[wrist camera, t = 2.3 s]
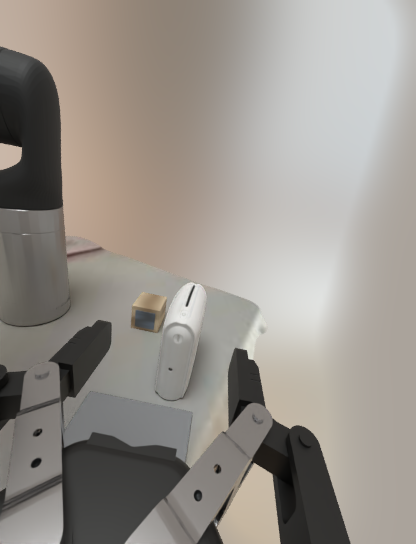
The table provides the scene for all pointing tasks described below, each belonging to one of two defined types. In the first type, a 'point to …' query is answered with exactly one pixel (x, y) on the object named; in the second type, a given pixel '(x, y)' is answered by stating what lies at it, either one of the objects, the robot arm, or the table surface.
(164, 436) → the felt pad
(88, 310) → the table surface
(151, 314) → the wooden block
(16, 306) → the robot arm
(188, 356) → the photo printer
